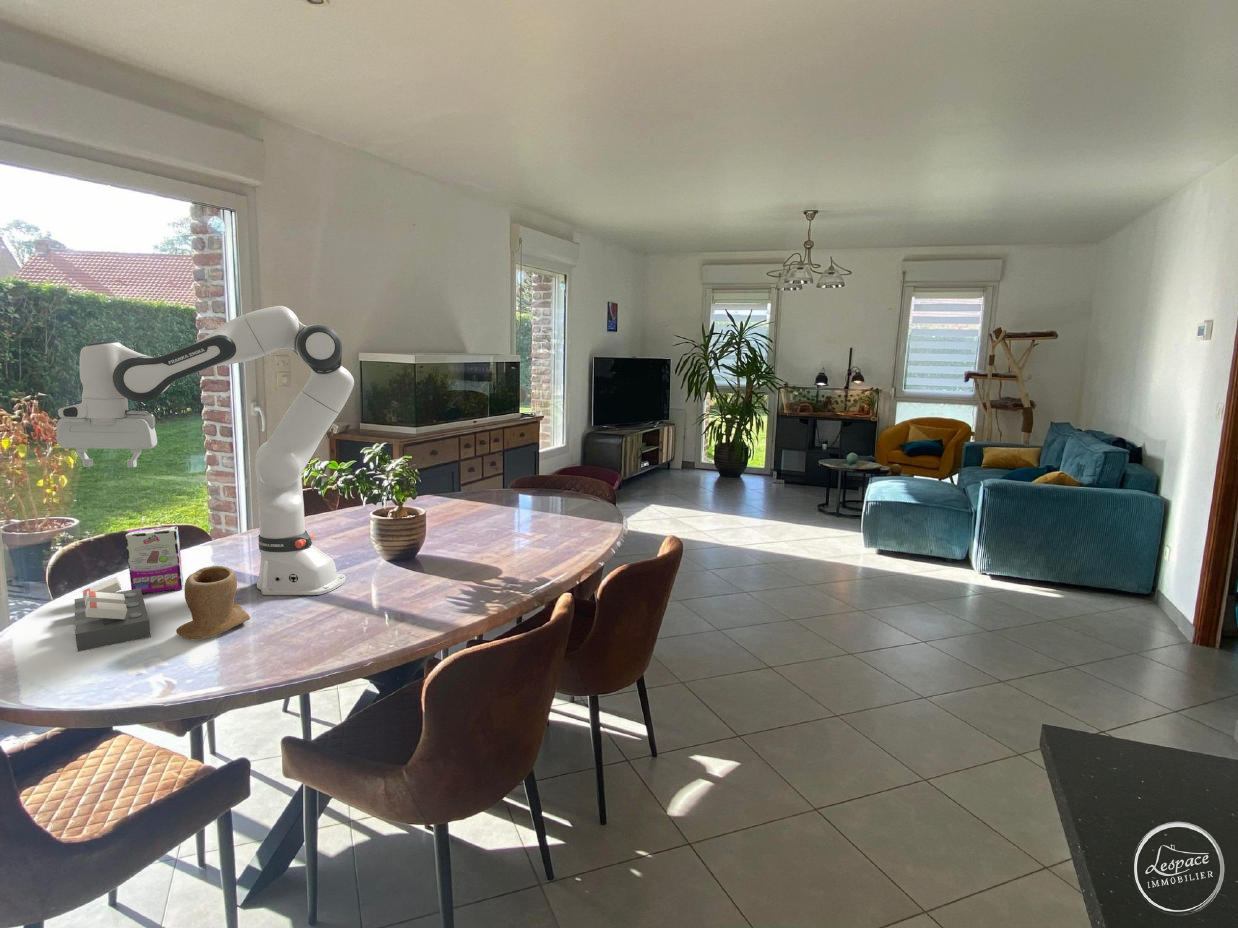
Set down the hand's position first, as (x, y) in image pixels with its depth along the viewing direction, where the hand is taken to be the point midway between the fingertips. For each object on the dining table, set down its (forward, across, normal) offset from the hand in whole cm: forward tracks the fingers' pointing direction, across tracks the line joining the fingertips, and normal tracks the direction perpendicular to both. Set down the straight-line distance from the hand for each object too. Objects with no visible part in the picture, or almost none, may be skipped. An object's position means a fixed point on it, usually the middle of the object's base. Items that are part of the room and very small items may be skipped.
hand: (110, 466), depth 168 cm
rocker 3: (+28, -7, +23) cm, 37 cm away
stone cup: (+34, -29, +21) cm, 50 cm away
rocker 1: (+29, -1, +9) cm, 30 cm away
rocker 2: (+28, -4, +16) cm, 33 cm away
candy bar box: (+35, -6, -8) cm, 36 cm away
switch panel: (+34, -5, +15) cm, 38 cm away
